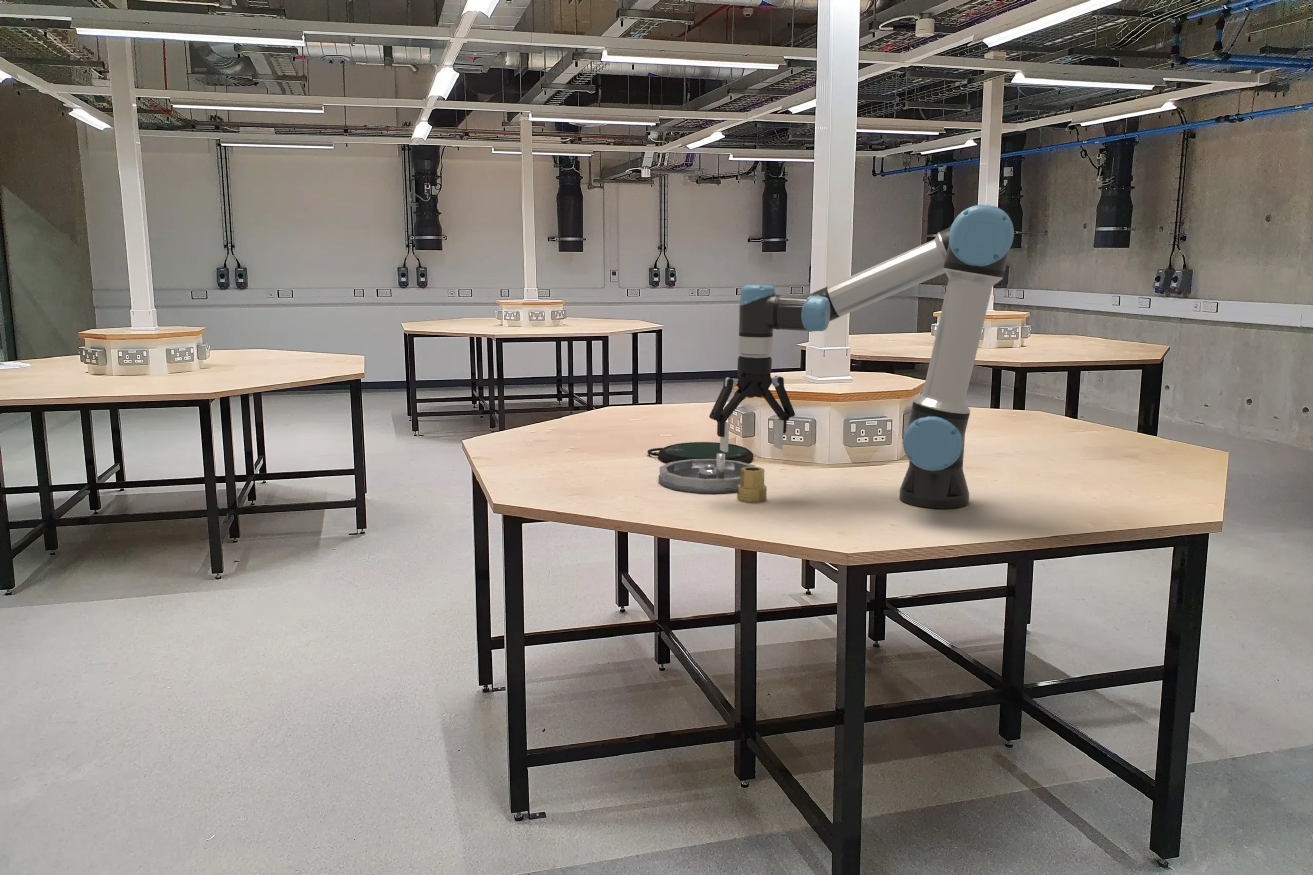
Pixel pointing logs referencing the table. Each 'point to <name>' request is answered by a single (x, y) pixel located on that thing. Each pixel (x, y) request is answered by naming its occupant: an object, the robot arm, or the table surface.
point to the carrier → (702, 475)
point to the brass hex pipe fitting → (751, 485)
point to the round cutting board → (701, 452)
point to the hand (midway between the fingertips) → (751, 449)
